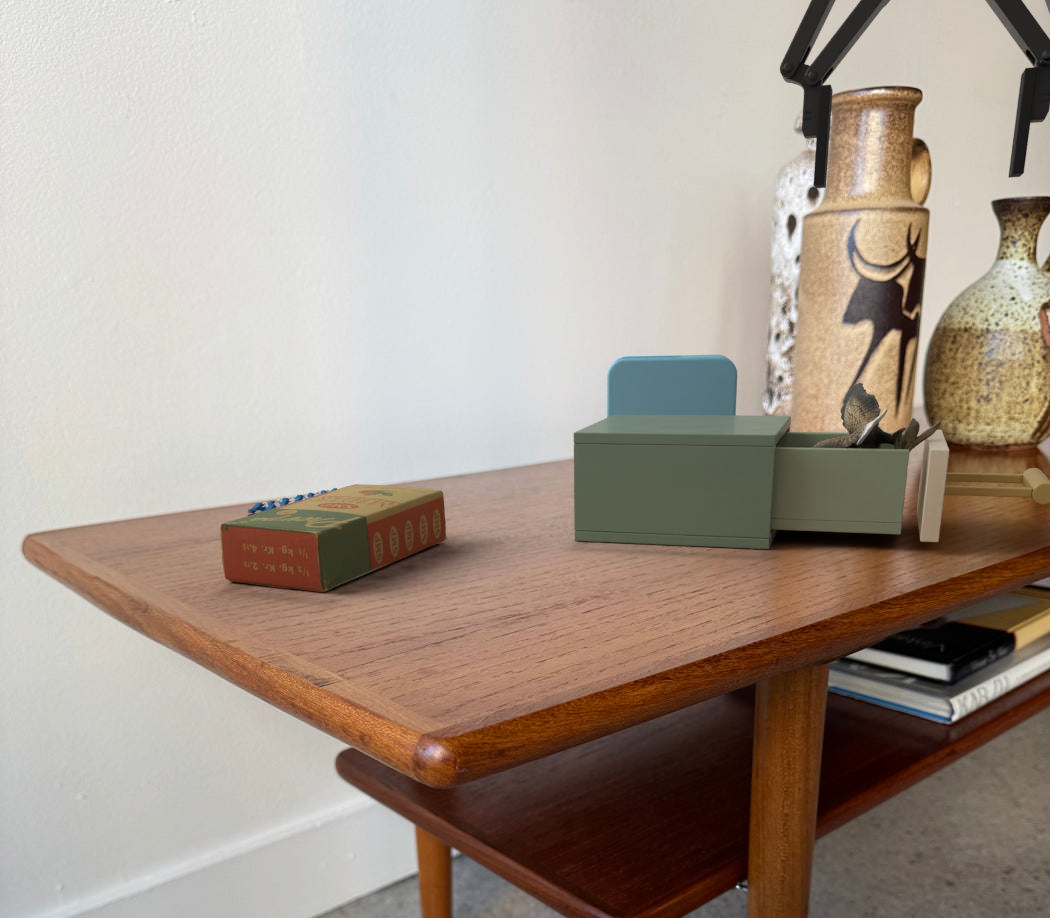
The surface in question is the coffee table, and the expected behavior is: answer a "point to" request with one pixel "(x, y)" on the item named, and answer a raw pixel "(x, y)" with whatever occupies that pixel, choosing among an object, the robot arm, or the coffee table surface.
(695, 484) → the cabinet
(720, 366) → the blue rounded panel
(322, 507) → the carton
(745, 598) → the coffee table surface
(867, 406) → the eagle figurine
